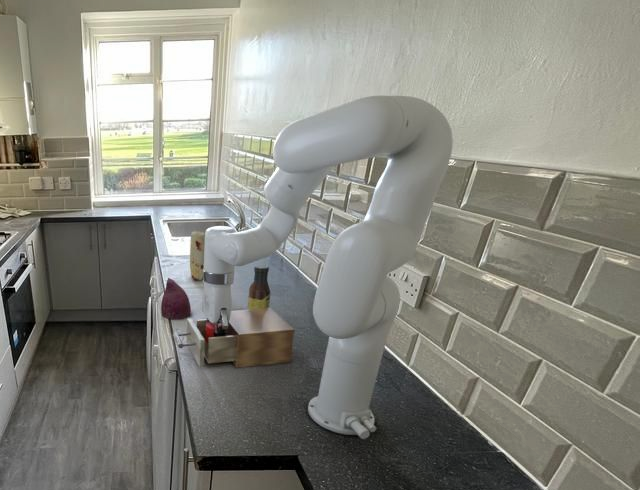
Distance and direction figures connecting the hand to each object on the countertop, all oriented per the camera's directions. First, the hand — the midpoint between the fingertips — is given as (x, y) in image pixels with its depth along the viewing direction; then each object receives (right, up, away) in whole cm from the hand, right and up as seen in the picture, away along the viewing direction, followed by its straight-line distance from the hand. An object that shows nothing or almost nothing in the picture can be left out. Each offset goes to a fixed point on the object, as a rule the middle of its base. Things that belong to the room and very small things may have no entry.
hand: (215, 339), depth 109 cm
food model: (+6, +23, +61) cm, 66 cm away
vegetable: (-7, +7, +29) cm, 31 cm away
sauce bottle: (+16, +3, +17) cm, 23 cm away
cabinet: (+11, -4, +3) cm, 12 cm away
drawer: (-2, -4, +2) cm, 5 cm away
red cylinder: (0, 0, 0) cm, 0 cm away
